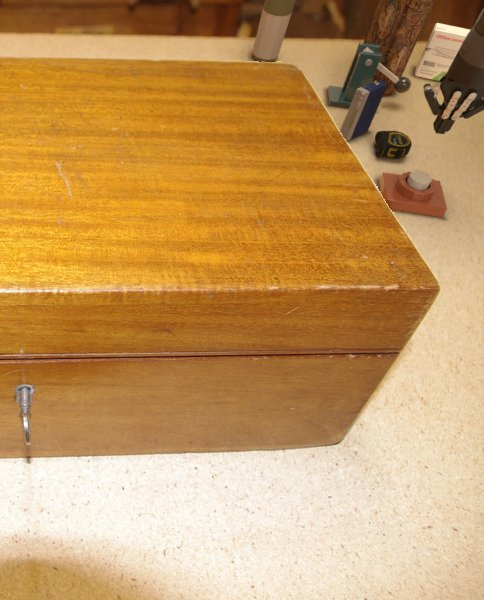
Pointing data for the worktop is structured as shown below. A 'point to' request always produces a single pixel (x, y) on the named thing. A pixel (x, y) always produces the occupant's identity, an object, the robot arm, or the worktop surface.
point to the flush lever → (393, 77)
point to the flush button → (419, 180)
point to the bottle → (272, 29)
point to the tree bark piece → (396, 34)
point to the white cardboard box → (440, 51)
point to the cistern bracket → (356, 75)
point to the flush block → (412, 195)
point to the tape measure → (392, 144)
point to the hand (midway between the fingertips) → (438, 130)
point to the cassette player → (363, 109)
